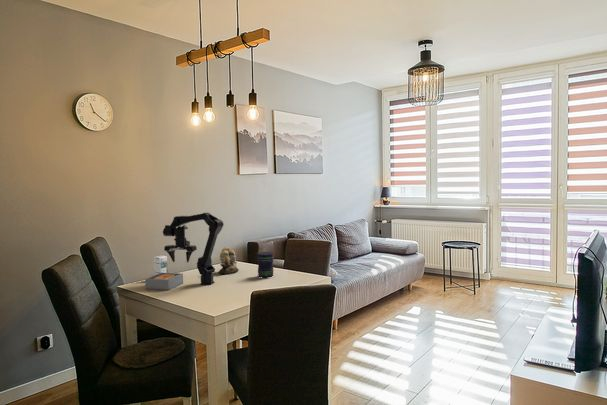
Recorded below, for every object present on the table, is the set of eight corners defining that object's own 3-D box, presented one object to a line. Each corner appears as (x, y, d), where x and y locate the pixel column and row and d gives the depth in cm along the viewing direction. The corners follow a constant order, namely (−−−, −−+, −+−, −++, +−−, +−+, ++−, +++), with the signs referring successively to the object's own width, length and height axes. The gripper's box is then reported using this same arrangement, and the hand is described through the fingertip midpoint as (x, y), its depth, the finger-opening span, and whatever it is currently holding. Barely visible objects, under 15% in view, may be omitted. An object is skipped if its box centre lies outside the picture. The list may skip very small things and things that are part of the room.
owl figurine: (230, 275, 265) (230, 249, 264) (214, 274, 268) (213, 248, 267) (241, 269, 282) (241, 245, 281) (226, 269, 285) (225, 244, 284)
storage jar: (276, 276, 259) (276, 253, 258) (262, 279, 253) (262, 255, 252) (268, 274, 267) (268, 251, 266) (255, 276, 261) (254, 253, 261)
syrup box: (160, 280, 253) (159, 257, 252) (154, 279, 256) (153, 256, 255) (168, 278, 258) (167, 256, 257) (161, 277, 261) (161, 255, 260)
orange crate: (174, 283, 243) (174, 274, 242) (165, 287, 233) (165, 278, 233) (164, 282, 244) (163, 274, 244) (154, 286, 234) (154, 278, 234)
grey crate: (183, 283, 245) (182, 273, 245) (168, 290, 229) (168, 279, 229) (161, 282, 248) (161, 272, 248) (145, 289, 232) (145, 278, 232)
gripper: (200, 235, 254) (201, 260, 255) (172, 234, 258) (173, 259, 259) (191, 237, 243) (192, 263, 244) (163, 237, 247) (164, 262, 248)
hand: (180, 262), depth 249 cm, fingers open, 9 cm apart
